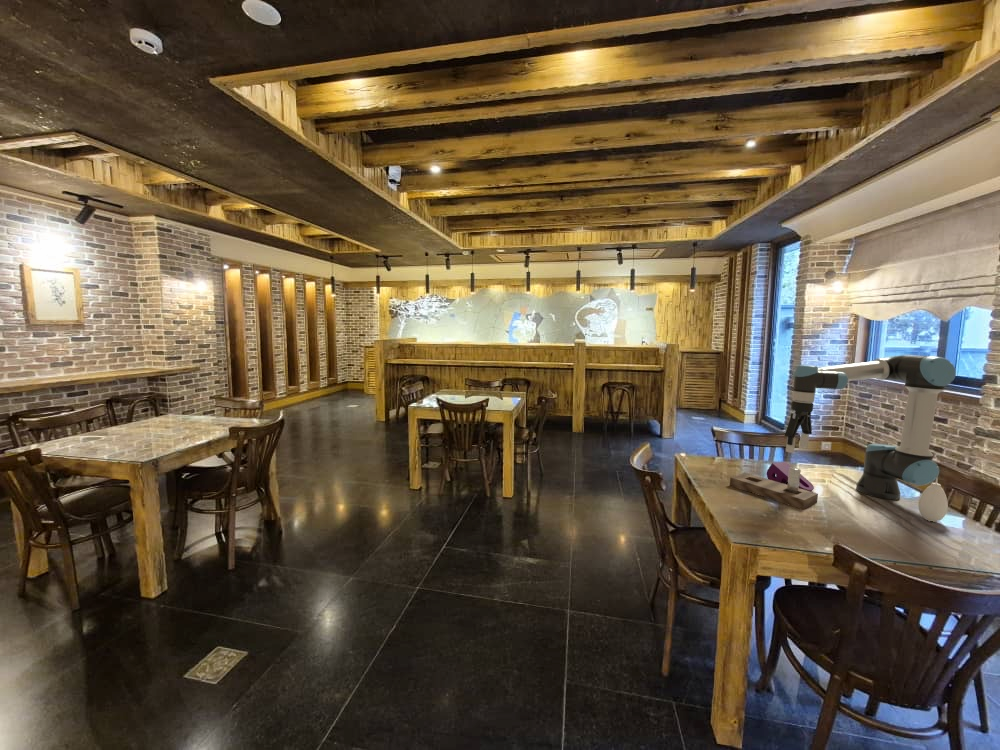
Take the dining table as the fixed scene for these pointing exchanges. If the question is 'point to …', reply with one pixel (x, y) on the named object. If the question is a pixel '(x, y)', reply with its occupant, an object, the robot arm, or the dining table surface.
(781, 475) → the mounting bracket
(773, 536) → the dining table surface
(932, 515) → the white rounded egg-shaped figurine
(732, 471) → the dining table surface
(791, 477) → the steel pin
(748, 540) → the dining table surface
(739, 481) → the mount plate
